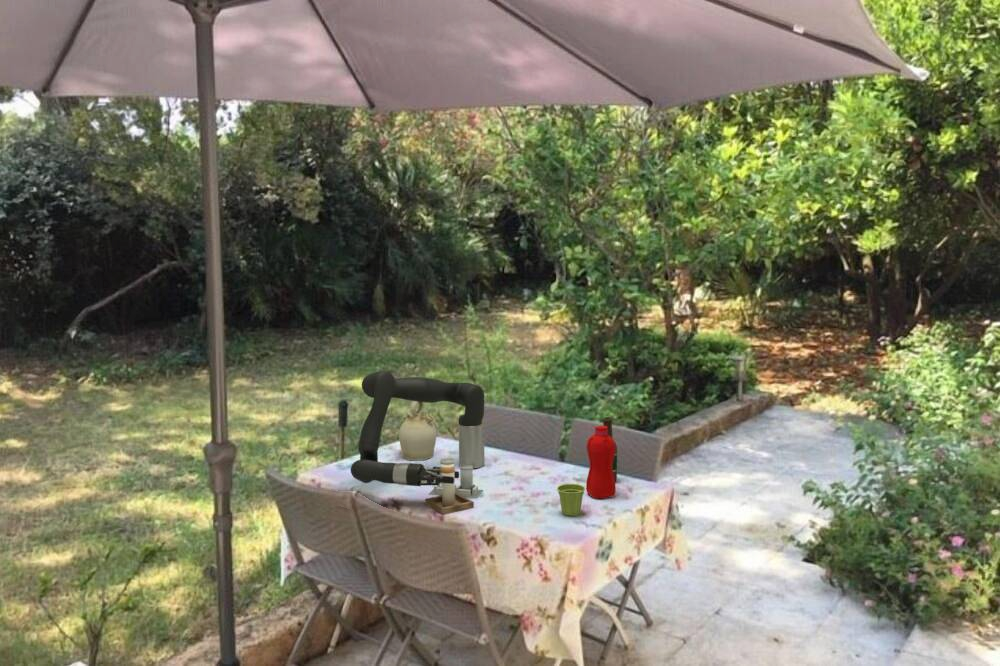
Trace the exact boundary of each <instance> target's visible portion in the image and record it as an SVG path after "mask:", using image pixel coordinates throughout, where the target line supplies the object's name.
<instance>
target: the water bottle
mask: <svg viewBox="0 0 1000 666" xmlns="http://www.w3.org/2000/svg"><path fill="white" fill-rule="evenodd" d="M607 431H608V427H607V426H603V425H598V426H597V425H596V426H594V434H593V435H590V437H588V439H587V444H586V453H587V455H588V460H589V469H588V474H587V479H586V483H585V484H586V487H585V491H586V493H587V494H588V495H589V496H590V497H592V498H594V499H597V500H602V499H608V497H609V498H612V497H614V496H615V495H616V491H617V489H616V483H615V480H614V475H613V470H612V463H613V459H614V455H615V451H616V446H617V445H616V446H615V443H616V441H615V439H614V438H612V437H610V436H609V435H607ZM601 498H602V499H601Z"/></svg>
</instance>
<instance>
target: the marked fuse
mask: <svg viewBox="0 0 1000 666" xmlns="http://www.w3.org/2000/svg"><path fill="white" fill-rule="evenodd" d="M440 467H441V476H450V477H454V483H453V484H450V483H442V484H441V487H442V505H443V507H448V506H453V505H456V504H455V484H456V482H455V481H456V480H455V479H456V478H455V475H454V472H455V471H456V470H455V459H454V458H452V457H445V458H441V459H440Z"/></svg>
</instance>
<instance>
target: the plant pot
mask: <svg viewBox="0 0 1000 666" xmlns="http://www.w3.org/2000/svg"><path fill="white" fill-rule="evenodd" d="M556 491H557V492H558V495H559V501H560V508H561V514H562V515H563V516H566V515H567V516H571V517H576V516H579V515H580V514H581V511H582V503H583V496H584V494H585V491H586V487H585V486H584V485H581V484H577V483H564V484H560V485H558V486H557V487H556Z"/></svg>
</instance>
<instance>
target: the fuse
mask: <svg viewBox="0 0 1000 666" xmlns="http://www.w3.org/2000/svg"><path fill="white" fill-rule="evenodd" d="M459 470H460V471H459V479H460V480H459V483H460V484H459V485H460V489H466V490H471V494H472V489H473V484H474V481H473V480H474V479H473V476H474V474H473V471H474V469H473V465H471V464H462V465H460V466H459Z"/></svg>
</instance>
